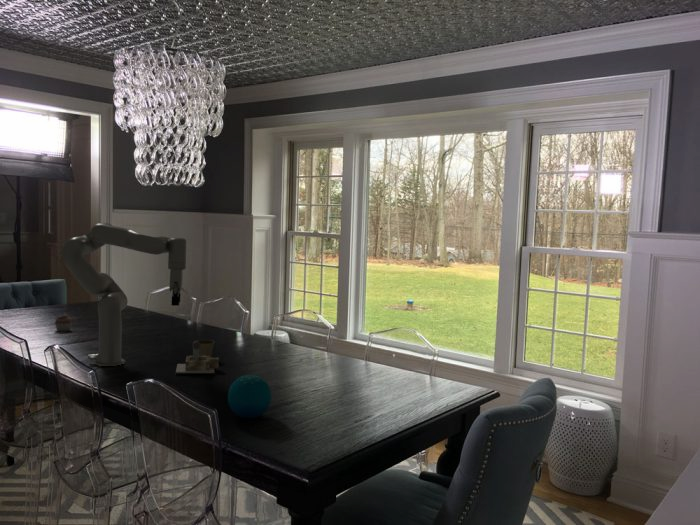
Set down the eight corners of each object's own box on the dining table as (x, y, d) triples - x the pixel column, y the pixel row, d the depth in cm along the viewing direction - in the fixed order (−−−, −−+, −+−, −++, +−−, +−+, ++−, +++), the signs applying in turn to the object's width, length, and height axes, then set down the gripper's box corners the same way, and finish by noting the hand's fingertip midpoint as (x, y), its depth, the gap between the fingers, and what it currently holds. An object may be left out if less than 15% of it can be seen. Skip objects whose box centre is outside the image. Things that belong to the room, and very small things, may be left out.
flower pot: (193, 362, 280) (194, 344, 279) (193, 357, 289) (194, 339, 288) (214, 362, 283) (215, 344, 282) (213, 357, 292) (214, 339, 291)
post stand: (175, 375, 258) (176, 344, 257) (177, 367, 271) (178, 337, 270) (214, 374, 262) (215, 344, 261) (213, 366, 274) (214, 338, 273)
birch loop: (185, 370, 260) (185, 361, 260) (186, 364, 270) (186, 355, 270) (218, 370, 264) (218, 361, 263) (218, 364, 273) (218, 355, 273)
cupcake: (55, 329, 336) (55, 311, 335) (73, 328, 338) (73, 311, 338) (52, 332, 327) (52, 314, 326) (71, 332, 330) (71, 314, 329)
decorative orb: (272, 411, 219) (274, 370, 217) (268, 425, 204) (269, 382, 203) (230, 409, 218) (232, 368, 217) (223, 424, 203) (224, 380, 202)
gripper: (169, 263, 277) (168, 300, 278) (166, 267, 260) (165, 306, 262) (186, 264, 279) (185, 300, 280) (184, 267, 262) (183, 306, 263)
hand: (175, 303), depth 271 cm, fingers open, 9 cm apart
